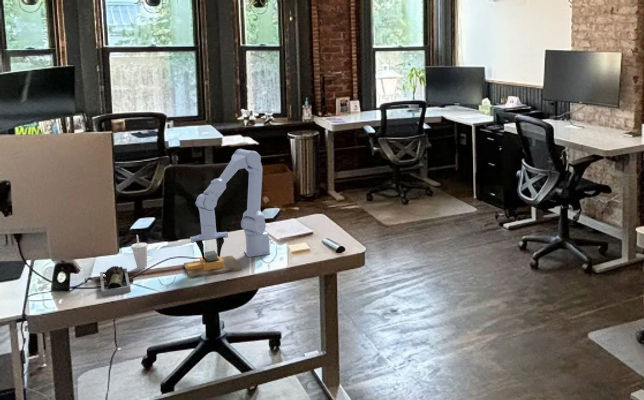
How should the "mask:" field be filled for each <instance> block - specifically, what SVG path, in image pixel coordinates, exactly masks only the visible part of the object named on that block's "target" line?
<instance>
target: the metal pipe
mask: <svg viewBox="0 0 644 400" xmlns="http://www.w3.org/2000/svg"><path fill="white" fill-rule="evenodd" d="M123 269H124V268H123V266H118V265H115V266H114V265H113V266H111V267H109V268H108V269H106V271H104V272H105V275H106V277H105V281H106V283H107V284H108V286H107V289H112V288H119V287H123V279H124V278H125V273H124V270H123Z"/></svg>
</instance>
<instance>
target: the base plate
mask: <svg viewBox="0 0 644 400" xmlns="http://www.w3.org/2000/svg"><path fill="white" fill-rule="evenodd" d="M220 257H221V258H222V260H223V262H224V267H222V268H216V269H210V270H204V269H203V268H200V269H194V270H188V268H187V264H192V263H199V262H200V260H195V261H187V262H183V266H184V265H185V267H184V268H185V269H184V270H185V271H186V273H187V276H188V277H189V279H195V278H201V277H206V276H207V277H208V276H213V275H219V274H225V273H231V272H232V273H233V272H238V271H242V267H241V265H240V264H239V262H238V261H237V259H236V258H235V257H234V256H233V255H232V254H231V255H226V256H220Z"/></svg>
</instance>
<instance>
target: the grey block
mask: <svg viewBox="0 0 644 400" xmlns="http://www.w3.org/2000/svg"><path fill="white" fill-rule="evenodd" d="M204 255H205V262H206V263H209V262H215V261H218V259H217V251H216V250H210V251H204Z"/></svg>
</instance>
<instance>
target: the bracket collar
mask: <svg viewBox="0 0 644 400" xmlns="http://www.w3.org/2000/svg"><path fill="white" fill-rule="evenodd" d="M221 257H222V256H220V257H218V255H217V259H218V261H215V262H209V263H206V262H205V259H203V258H202V256H201V257H199V261H200V262H199V263H192V264H187V268H188V270H194V269H200V268H203V269H204V270H210V269H216V268H222V267H224V262H223V260H222V258H221Z"/></svg>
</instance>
